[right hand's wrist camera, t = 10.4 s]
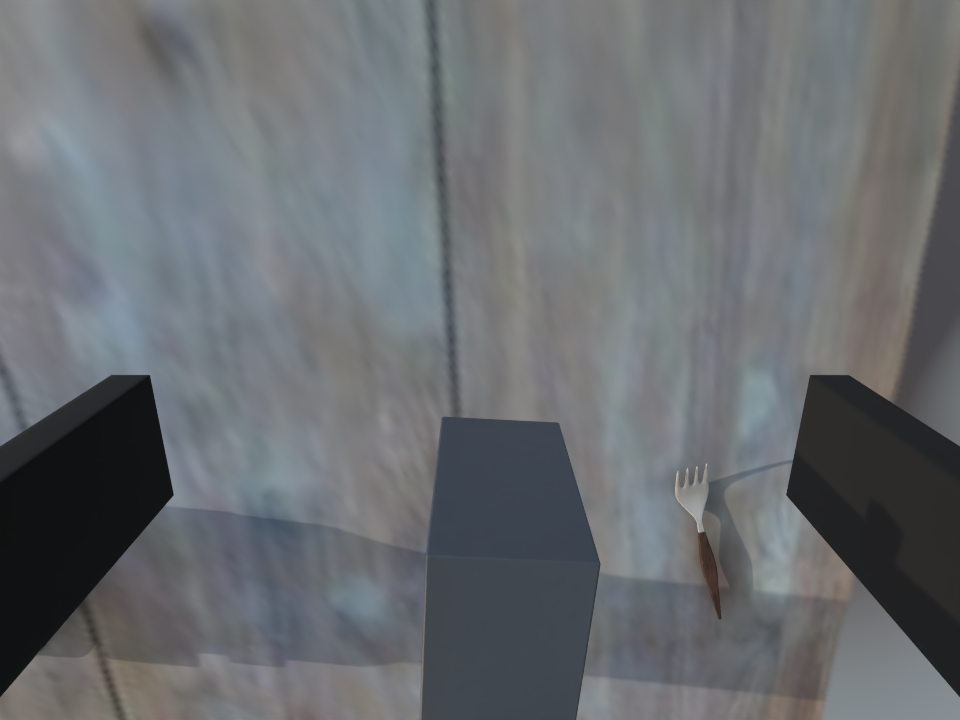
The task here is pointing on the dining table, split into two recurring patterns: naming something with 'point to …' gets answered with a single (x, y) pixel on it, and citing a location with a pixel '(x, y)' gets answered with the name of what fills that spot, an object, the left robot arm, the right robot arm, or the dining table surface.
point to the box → (505, 576)
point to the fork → (700, 527)
